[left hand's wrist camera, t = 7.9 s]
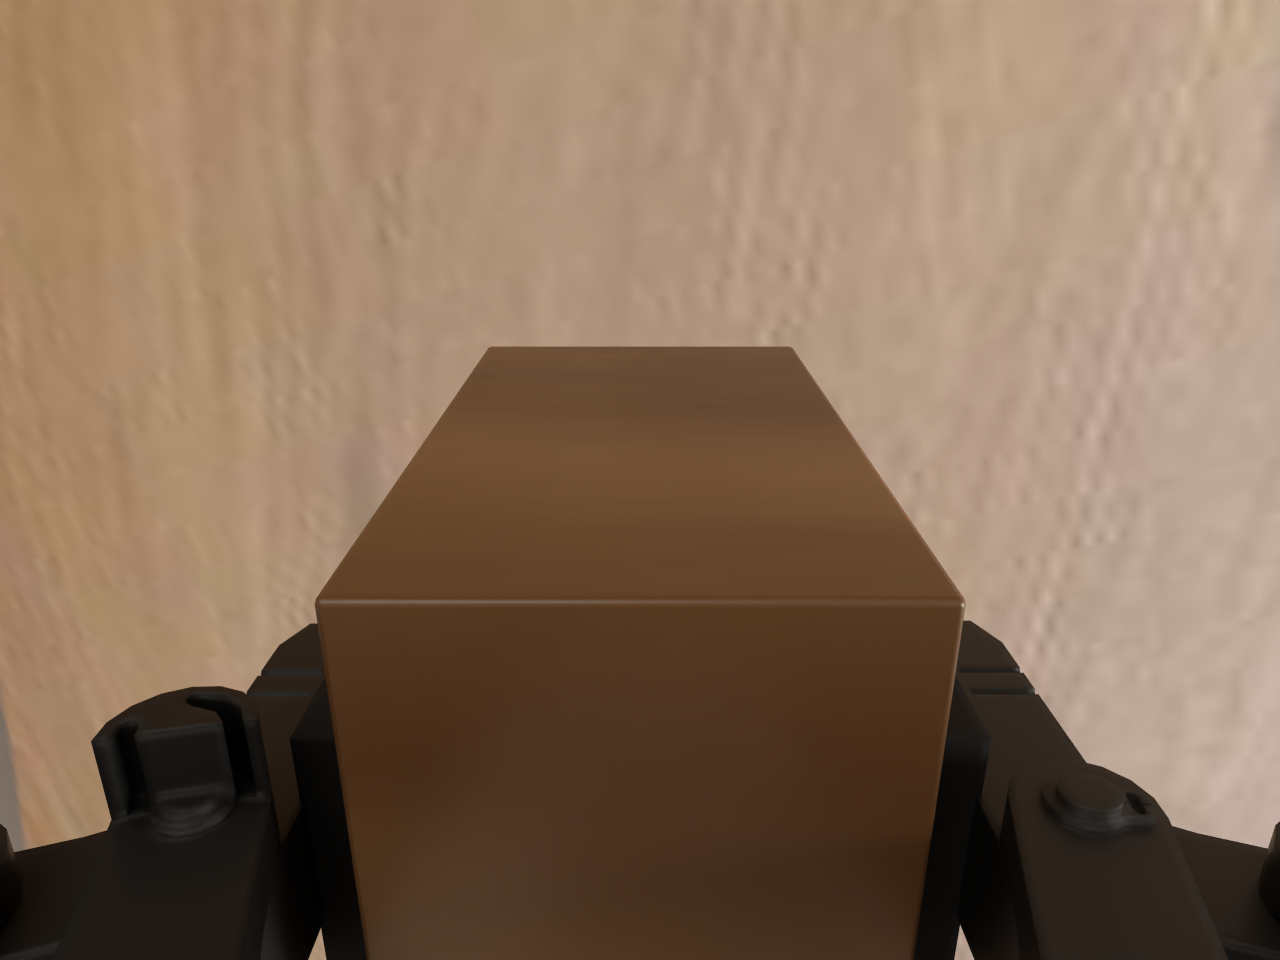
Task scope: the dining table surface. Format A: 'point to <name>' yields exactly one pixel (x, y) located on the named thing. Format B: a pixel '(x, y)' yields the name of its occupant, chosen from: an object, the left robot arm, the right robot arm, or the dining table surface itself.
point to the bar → (640, 672)
